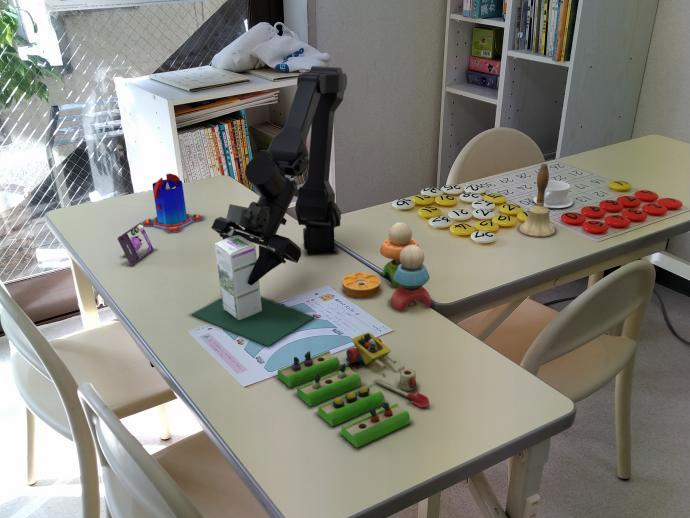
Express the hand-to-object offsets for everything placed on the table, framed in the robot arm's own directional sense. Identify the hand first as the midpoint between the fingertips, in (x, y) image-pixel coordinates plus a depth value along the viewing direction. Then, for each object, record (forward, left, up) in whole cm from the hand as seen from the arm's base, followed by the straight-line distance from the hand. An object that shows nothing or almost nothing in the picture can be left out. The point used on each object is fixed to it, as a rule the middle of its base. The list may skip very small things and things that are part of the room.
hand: (236, 279), depth 140 cm
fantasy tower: (+17, -51, -8) cm, 54 cm away
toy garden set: (-20, +28, -8) cm, 36 cm away
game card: (+24, -31, -8) cm, 39 cm away
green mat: (-2, +1, -8) cm, 8 cm away
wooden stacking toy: (-30, -5, -8) cm, 31 cm away
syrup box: (0, -1, -7) cm, 7 cm away
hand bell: (-70, -32, -8) cm, 77 cm away
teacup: (-80, -49, -8) cm, 94 cm away
